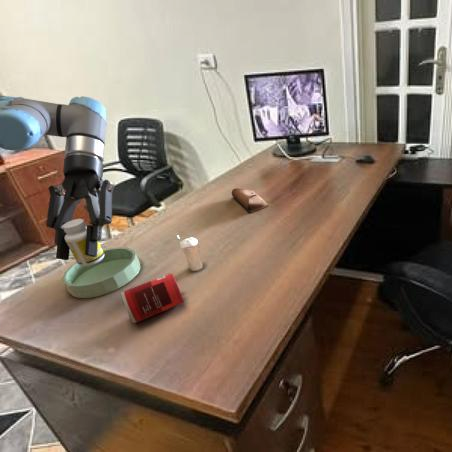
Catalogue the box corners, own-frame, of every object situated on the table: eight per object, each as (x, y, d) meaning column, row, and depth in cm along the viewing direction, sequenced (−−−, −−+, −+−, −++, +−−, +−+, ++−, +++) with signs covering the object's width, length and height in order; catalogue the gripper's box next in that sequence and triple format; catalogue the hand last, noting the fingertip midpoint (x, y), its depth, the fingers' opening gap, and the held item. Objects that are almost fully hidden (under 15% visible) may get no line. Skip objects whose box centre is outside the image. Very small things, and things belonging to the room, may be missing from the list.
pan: (54, 302, 89) (47, 290, 87) (90, 262, 104) (84, 251, 103) (124, 293, 90) (118, 281, 88) (149, 255, 105) (145, 244, 103)
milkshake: (193, 261, 100) (182, 231, 95) (208, 264, 98) (198, 233, 93) (182, 271, 96) (171, 240, 91) (198, 273, 94) (187, 242, 90)
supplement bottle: (109, 252, 83) (92, 216, 78) (97, 265, 78) (78, 227, 73) (86, 254, 83) (67, 218, 78) (73, 268, 78) (52, 230, 73)
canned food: (176, 283, 88) (128, 302, 83) (169, 266, 82) (118, 285, 77) (186, 308, 85) (137, 329, 80) (180, 292, 79) (126, 313, 74)
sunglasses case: (270, 204, 127) (258, 193, 123) (256, 218, 126) (244, 207, 122) (251, 190, 141) (240, 179, 137) (239, 203, 140) (228, 192, 136)
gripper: (132, 163, 86) (129, 255, 80) (56, 171, 85) (47, 265, 79) (114, 148, 79) (108, 248, 72) (31, 157, 78) (18, 259, 72)
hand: (76, 257), depth 76 cm, fingers closed on supplement bottle, 5 cm apart
